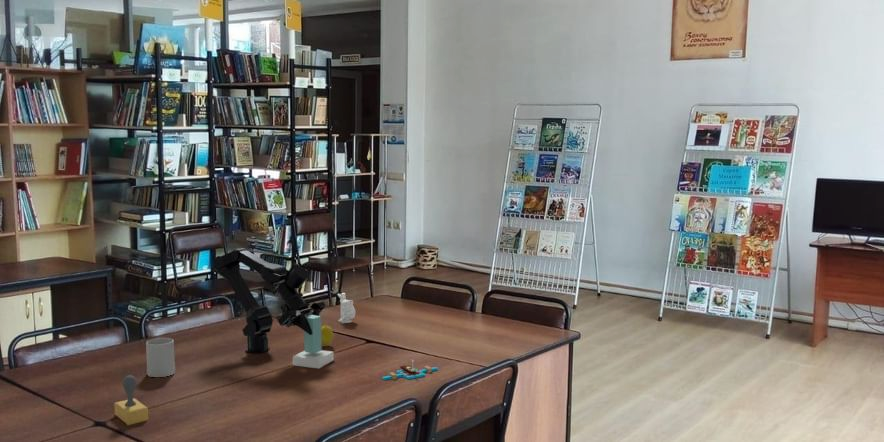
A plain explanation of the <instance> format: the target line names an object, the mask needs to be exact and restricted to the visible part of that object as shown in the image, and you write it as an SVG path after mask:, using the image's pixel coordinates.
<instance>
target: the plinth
mask: <svg viewBox="0 0 884 442" xmlns="http://www.w3.org/2000/svg"><path fill="white" fill-rule="evenodd" d="M333 361H334V351H330V350H323V349H321V351H319V352H316V353H314V354H313V353H309V352H305V350H303V351H301V352H298V353H297V354H294V355H293V356H292V366H296V367H303V368H304V367H305V368H312V369H321V368H323V367H324V366H327V365H328V364H329V363H331V362H333Z"/></svg>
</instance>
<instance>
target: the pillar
mask: <svg viewBox="0 0 884 442" xmlns="http://www.w3.org/2000/svg"><path fill="white" fill-rule="evenodd" d="M305 316H306V315H305ZM306 319H307V321H308V323H309V325H310V327H311V330H312V335H309V334H308V333H307V332H305V331H304V330H303V331H304V335H303V336H304V340H303V341H304V351H305V352H309V353H313V354H314V353H316V352H319V351H321V350H322V344H321V327H322V316H320V315H319V316H316V315H310V316H306Z"/></svg>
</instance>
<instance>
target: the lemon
mask: <svg viewBox="0 0 884 442" xmlns="http://www.w3.org/2000/svg"><path fill="white" fill-rule="evenodd" d="M333 340H334V331H333V329H332V328H331V326H330V325H329V326H328V325H327V324H324V325H323V326H321V345H323V346H324V347H327V346H329V345H330V344H331V343H332V342H333Z"/></svg>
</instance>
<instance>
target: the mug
mask: <svg viewBox="0 0 884 442" xmlns="http://www.w3.org/2000/svg"><path fill="white" fill-rule="evenodd" d="M174 343H175V342H174V339H173V338H169V337H157V338H152V339H149V340H146V343H145V349H146V351H145V353H146V375H148V376H151V377H164V376H169V377H171V376H170V375H172V376H173V374H174V375H175V374H176V373H175V372H176V363H175V362H176V360H175V344H174ZM148 376H147V377H148Z"/></svg>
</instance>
